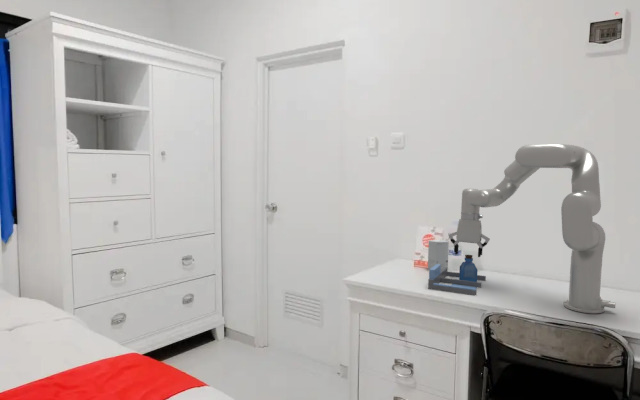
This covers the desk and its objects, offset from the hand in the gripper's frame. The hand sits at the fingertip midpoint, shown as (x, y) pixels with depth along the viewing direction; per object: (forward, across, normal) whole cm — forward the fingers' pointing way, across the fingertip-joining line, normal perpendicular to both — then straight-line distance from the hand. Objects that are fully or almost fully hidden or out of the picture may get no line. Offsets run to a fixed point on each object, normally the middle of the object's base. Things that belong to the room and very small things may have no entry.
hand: (467, 255), depth 190 cm
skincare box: (+13, +16, -15) cm, 26 cm away
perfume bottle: (+12, -1, 0) cm, 12 cm away
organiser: (+12, +2, +7) cm, 14 cm away
